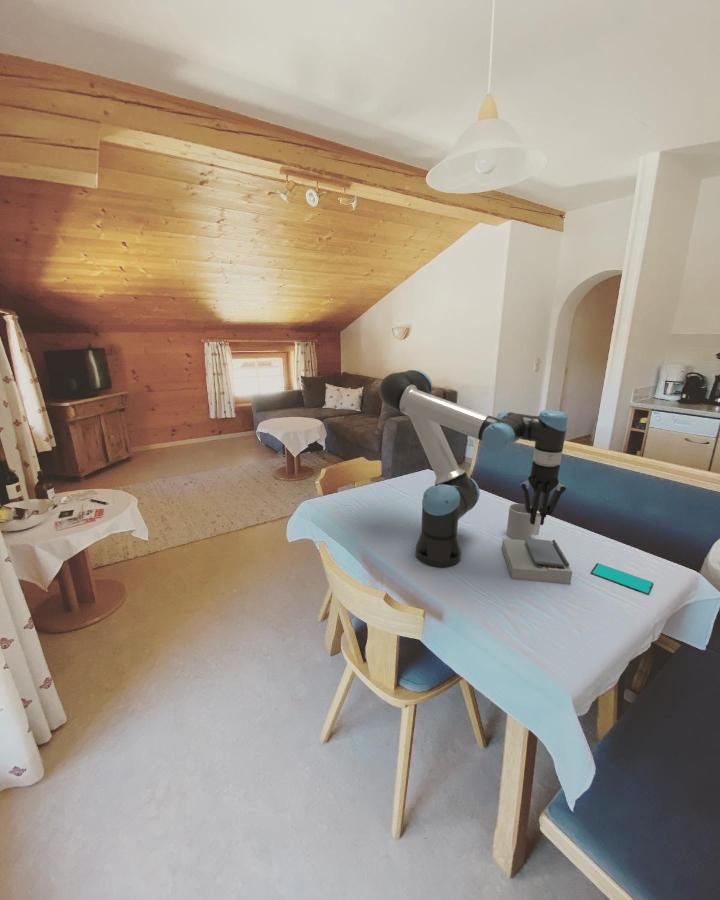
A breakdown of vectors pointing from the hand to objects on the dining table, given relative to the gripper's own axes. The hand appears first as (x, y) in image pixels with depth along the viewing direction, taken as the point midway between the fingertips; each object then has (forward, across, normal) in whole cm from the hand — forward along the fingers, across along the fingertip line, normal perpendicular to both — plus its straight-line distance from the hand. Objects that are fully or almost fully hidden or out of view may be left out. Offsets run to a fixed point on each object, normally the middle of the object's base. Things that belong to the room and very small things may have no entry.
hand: (534, 533), depth 124 cm
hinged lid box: (+11, +1, 0) cm, 11 cm away
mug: (+12, +2, +20) cm, 23 cm away
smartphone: (+11, +25, -4) cm, 28 cm away
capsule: (+9, +4, 0) cm, 10 cm away
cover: (+7, +4, 0) cm, 8 cm away
